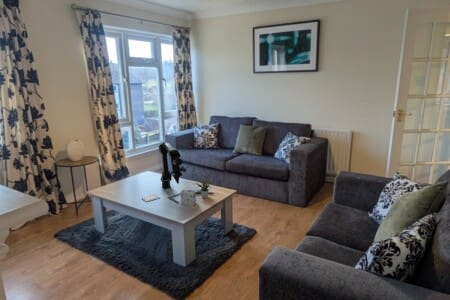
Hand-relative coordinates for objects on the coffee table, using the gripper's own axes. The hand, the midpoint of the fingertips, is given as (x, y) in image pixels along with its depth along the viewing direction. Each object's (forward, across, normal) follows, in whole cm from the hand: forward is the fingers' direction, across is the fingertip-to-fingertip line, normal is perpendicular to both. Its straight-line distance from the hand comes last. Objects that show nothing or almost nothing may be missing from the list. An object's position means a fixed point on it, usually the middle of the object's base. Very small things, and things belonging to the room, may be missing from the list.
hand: (178, 183), depth 239 cm
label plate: (+10, +10, +23) cm, 27 cm away
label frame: (+13, +2, 0) cm, 13 cm away
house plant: (+15, -2, -21) cm, 26 cm away
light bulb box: (+16, -10, -4) cm, 19 cm away
